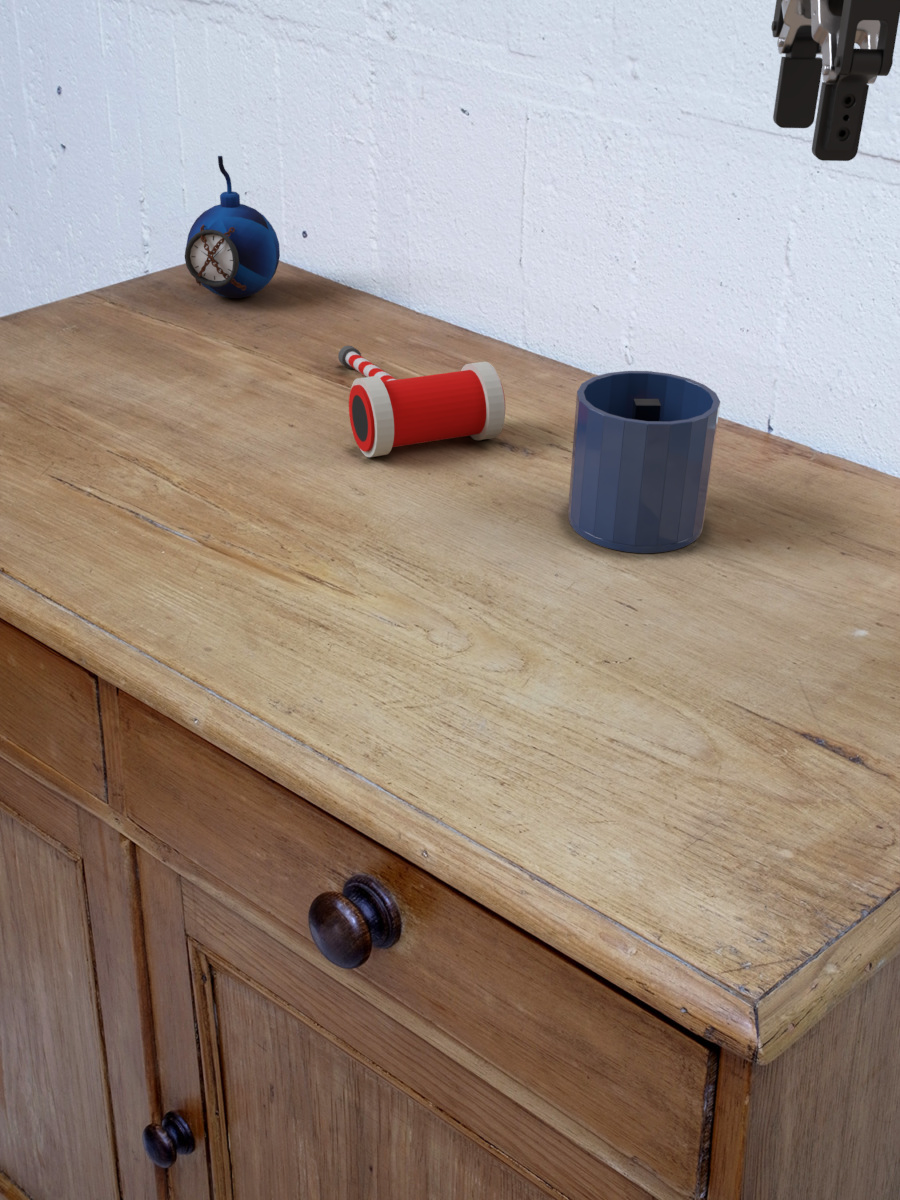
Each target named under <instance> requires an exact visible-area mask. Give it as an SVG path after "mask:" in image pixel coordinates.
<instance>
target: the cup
mask: <svg viewBox="0 0 900 1200" xmlns="http://www.w3.org/2000/svg"><path fill="white" fill-rule="evenodd" d="M634 399H658V400H659V402H660V404H661V411H660V420H659V421H642V420H634V419H632V411H633V401H634ZM720 407H721V400H720V398H719V396H718V394H717V393H716V392H715V391H714V390H713V389H712V388H710V387H708V386H707V385H705V384H703V383H701V382H699V381H696V380H694V379H692V378H689V377H686V376H685V377H684V376H680V375H677V374H672V373H669V372H668V373H667V372H659V371H653V370H652V371H651V370H624V371H622V370H621V371H615V372H613V371H612V372H607V373H603V374H599V375H595V376H593V377H591V378H588V379H587V380H585V381H584V382H582V383H581V384H580V386H579V388H578V389H577V390H576V401H575V414H574V427H573V439H572V440H573V441H572V451H571V452H572V453H571V464H570V465H571V466H570V477H569V478H570V479H569V493H568V506H567V510H568V513H567V514H568V515H567V516H568V518H567V519H568V522H569V525H570V527H571V528H572V529H573V530H574V532H575V533H576V534H577V535H579V536H580V537H582V538H583V539H584V540H587V541H588V542H591V543H593V544H595V545H597V546H600V547H603V548H607V549H610V550H615V551H618V552H624V553H634V554H657V553H658V554H659V553H666V552H673V551H675V550H679V549H682V548H685V547H687V546H689V545H691V544H693V543H694V542H696V541H697V540H698V539H699V537H700V536H701V534H702V532H703V530H704V522H705V520H706V511H707V504H708V496H709V489H710V481H711V475H712V466H713V459H714V452H715V444H716V438H717V431H718V430H717V429H718V423H719V422H718V421H719V415H720Z"/></svg>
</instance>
